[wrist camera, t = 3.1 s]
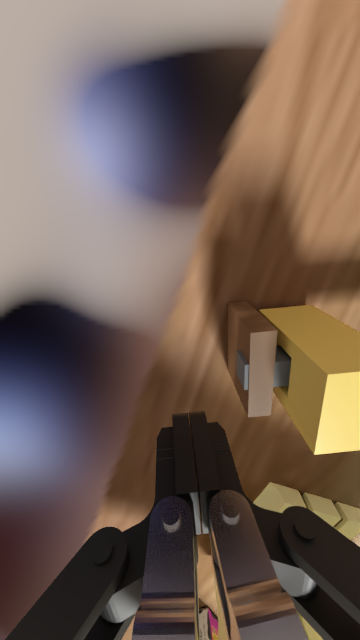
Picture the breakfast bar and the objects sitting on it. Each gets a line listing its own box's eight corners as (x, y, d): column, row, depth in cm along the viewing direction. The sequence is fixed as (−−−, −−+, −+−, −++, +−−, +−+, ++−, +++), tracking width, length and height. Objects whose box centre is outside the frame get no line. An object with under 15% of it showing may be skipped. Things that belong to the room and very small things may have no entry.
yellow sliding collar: (311, 304, 19) (418, 365, 11) (304, 359, 20) (391, 446, 12) (258, 309, 18) (327, 374, 11) (256, 364, 20) (314, 455, 12)
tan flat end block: (246, 300, 19) (277, 330, 14) (245, 368, 21) (271, 414, 16) (227, 302, 19) (250, 333, 14) (228, 369, 21) (247, 417, 16)
